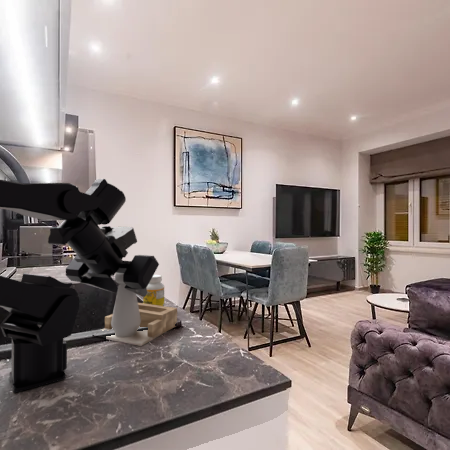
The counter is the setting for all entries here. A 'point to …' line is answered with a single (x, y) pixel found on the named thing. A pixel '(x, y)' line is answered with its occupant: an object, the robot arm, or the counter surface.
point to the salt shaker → (125, 311)
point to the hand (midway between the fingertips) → (131, 293)
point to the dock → (147, 324)
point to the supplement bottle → (155, 292)
